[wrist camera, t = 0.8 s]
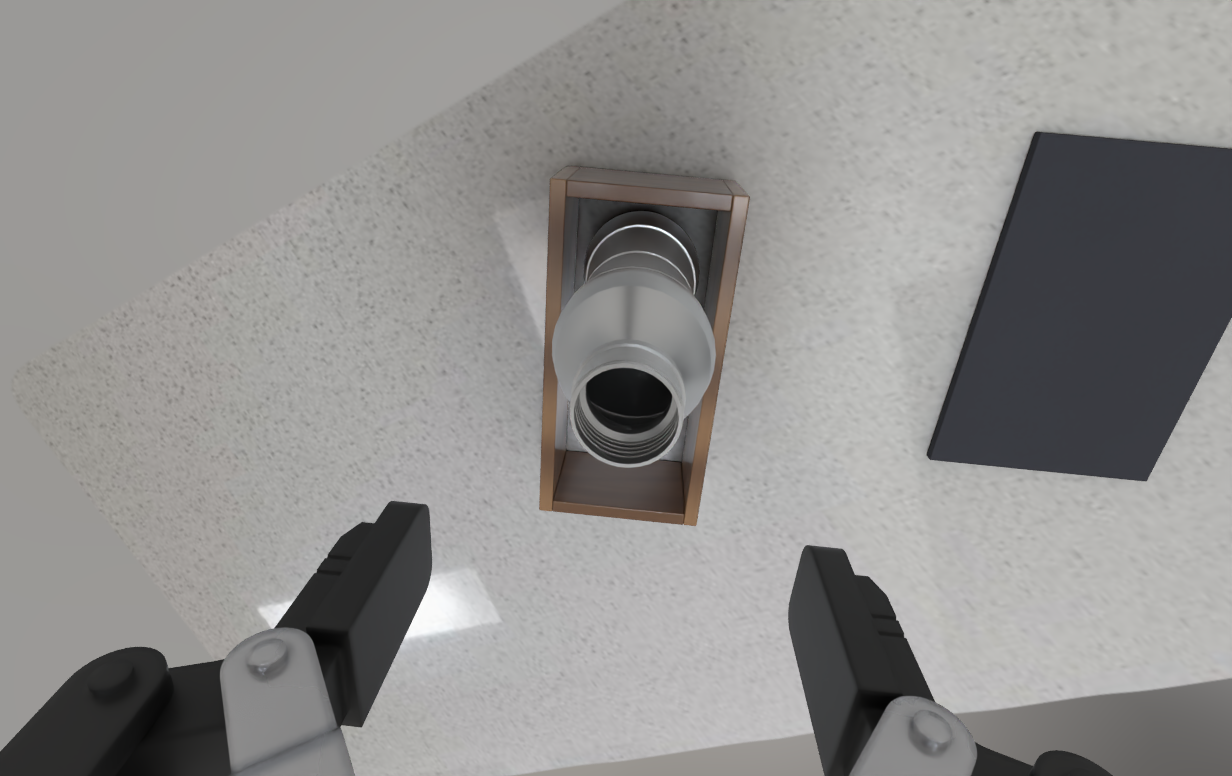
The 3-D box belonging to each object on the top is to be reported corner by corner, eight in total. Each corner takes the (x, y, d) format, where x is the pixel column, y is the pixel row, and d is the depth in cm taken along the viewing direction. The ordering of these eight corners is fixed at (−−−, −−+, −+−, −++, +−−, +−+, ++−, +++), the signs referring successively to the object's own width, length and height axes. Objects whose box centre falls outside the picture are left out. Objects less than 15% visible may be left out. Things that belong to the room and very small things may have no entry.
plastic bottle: (684, 191, 36) (709, 290, 18) (706, 303, 38) (747, 489, 20) (575, 218, 37) (493, 337, 19) (604, 325, 39) (556, 521, 21)
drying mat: (1034, 131, 33) (1041, 132, 33) (1305, 155, 33) (1315, 156, 32) (926, 455, 42) (929, 460, 41) (1140, 476, 41) (1146, 481, 41)
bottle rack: (566, 165, 36) (549, 178, 30) (736, 180, 35) (750, 196, 30) (554, 458, 44) (539, 510, 38) (691, 472, 44) (696, 526, 38)
